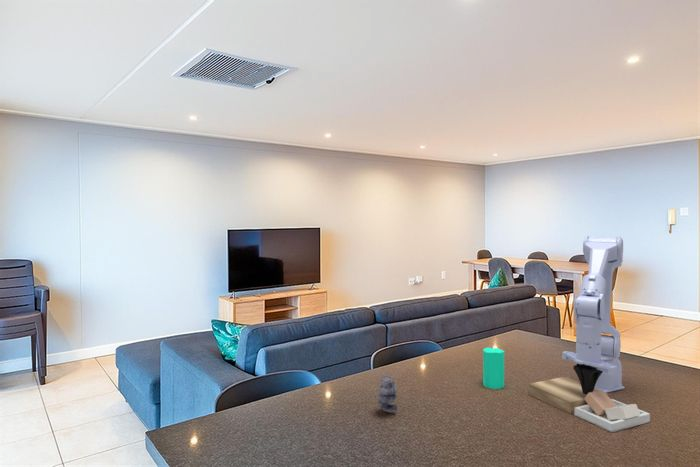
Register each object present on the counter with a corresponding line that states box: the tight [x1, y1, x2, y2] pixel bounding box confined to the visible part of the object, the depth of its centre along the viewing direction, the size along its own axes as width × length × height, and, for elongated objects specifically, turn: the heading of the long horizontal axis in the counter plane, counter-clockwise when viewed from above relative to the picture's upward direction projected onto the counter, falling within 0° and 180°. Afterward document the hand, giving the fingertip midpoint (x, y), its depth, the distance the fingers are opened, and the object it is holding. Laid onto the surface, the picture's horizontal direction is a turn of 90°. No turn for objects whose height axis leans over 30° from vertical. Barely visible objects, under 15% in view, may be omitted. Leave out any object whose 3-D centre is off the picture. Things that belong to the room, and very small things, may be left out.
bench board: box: [527, 376, 610, 415], centre depth 123 cm, size 14×14×3 cm
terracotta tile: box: [584, 390, 617, 416], centre depth 114 cm, size 5×5×2 cm
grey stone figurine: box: [376, 374, 398, 413], centre depth 115 cm, size 5×5×10 cm
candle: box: [482, 347, 505, 390], centre depth 134 cm, size 6×6×12 cm
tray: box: [574, 398, 651, 433], centre depth 111 cm, size 14×10×2 cm
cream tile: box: [605, 403, 640, 420], centre depth 109 cm, size 5×5×2 cm
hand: (587, 393), depth 117 cm, fingers closed
